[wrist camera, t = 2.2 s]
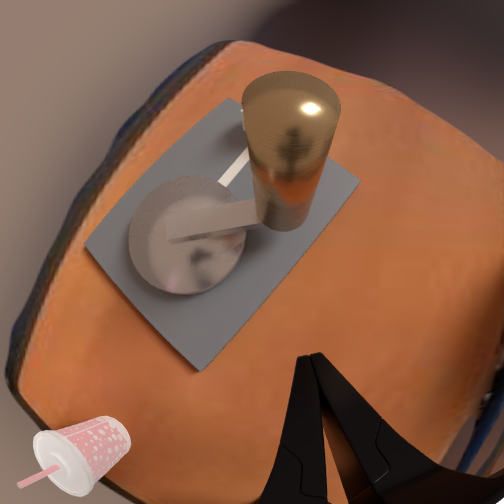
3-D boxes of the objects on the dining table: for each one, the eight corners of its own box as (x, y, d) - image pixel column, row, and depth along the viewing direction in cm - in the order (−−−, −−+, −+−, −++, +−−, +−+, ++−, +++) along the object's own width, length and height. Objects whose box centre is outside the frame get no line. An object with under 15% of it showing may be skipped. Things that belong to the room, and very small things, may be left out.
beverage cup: (86, 443, 20) (-2, 484, 6) (90, 398, 21) (-13, 428, 8) (134, 469, 19) (57, 535, 6) (141, 425, 21) (47, 486, 7)
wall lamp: (140, 302, 22) (16, 272, 9) (135, 197, 25) (50, 107, 11) (317, 273, 22) (382, 202, 8) (291, 166, 24) (304, 38, 11)
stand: (203, 370, 22) (181, 385, 16) (89, 246, 25) (51, 227, 19) (358, 185, 25) (378, 149, 19) (229, 103, 28) (221, 63, 22)
